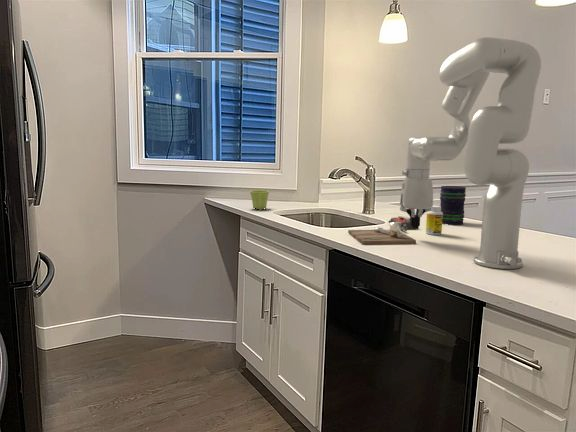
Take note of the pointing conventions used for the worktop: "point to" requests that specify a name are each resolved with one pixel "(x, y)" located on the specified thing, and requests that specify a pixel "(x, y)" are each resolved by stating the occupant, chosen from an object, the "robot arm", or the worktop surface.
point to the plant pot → (259, 198)
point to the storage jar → (452, 204)
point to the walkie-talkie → (402, 222)
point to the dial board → (379, 237)
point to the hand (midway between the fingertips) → (414, 228)
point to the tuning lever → (391, 229)
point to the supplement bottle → (434, 221)
